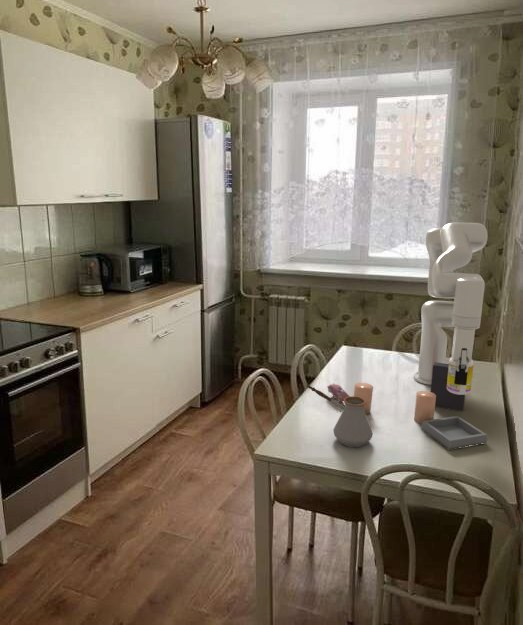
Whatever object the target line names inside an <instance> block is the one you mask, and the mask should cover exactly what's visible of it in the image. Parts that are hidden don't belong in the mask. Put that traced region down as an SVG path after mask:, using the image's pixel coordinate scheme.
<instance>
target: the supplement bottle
mask: <svg viewBox="0 0 523 625" xmlns="http://www.w3.org/2000/svg"><path fill="white" fill-rule="evenodd" d="M461 353H462V350H461ZM459 360H460V361H461V359H459ZM448 364H449V368H448V379H447V390H448V391H449V392H451V393H453V394H458V395H465V396H466V395H468V394H470V393H471V391H472V382H473V372H474V360H473V358H471V362H469V363H468V367H467V372H468V374H467V383H466V385H458V384H455V383H454V381H455V371H456V370H457V361H453V360H452V356H451V357H450V358H449V360H448ZM460 364H461V363H459V365H460Z"/></svg>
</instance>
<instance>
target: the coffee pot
mask: <svg viewBox="0 0 523 625" xmlns="http://www.w3.org/2000/svg"><path fill="white" fill-rule="evenodd" d="M307 389H309V390H311V391H312V392H314V393H316V394H317V395H318V396H319V397H321V398H323V399H325V400H326V401H329V402H331V403H333V404H334V405H336V407H338V408H340V409H341V410H343V411H342V412H341V414H340V416H339V418H338V420H337V422H336V423H335V425H334V427H333V429H332V430H333V434H334V437H335V438H336V440H337V441H338V442H340V443H341V444H342V445H344V446H347V447H348V448H349V447H350V448H359V447H363V446H365V445H366V444H367V443H369V442H370V441H371V440H372V438H373V434H374V433H373V429H372V427H371V424H370V422H369V419H368V417H367V415H366V414H365V411H364V409H363V407H364V405H365V404H366V401H365V400H364V399H363V398H361V397H358V396H354V395H353V396H351V395H350V397H346V398H344V401H343V402H344V404H345V406H344V405H342V404H341V403H340V402H337V401H335V400H334V399H332V398H331V397H329V396H328V395H327V394H325V393H324V392H322V391H320V390H318V389H317V388H315V387H314V386H313V387H312V386H311V385H309V384H306V386H305V388H304V391H306V390H307Z"/></svg>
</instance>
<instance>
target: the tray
mask: <svg viewBox="0 0 523 625" xmlns="http://www.w3.org/2000/svg"><path fill="white" fill-rule="evenodd" d="M421 430H422V432H424V433H425V432H426V434H427V435H428V436H429V435H430V436H429V437H430V438H432V439H433V438H434V439H433V440H435V441H436V442H437V441H438V442H437V443H439V444H440V443H441V444H442V445H441V444H440V445H441V446H442V447H444V448H445V447H446V448H445V449H446V450H448V451H452V450H451V449H454V450H456V449H455V448H459V447H465V446H469V445H476V444H481V443H486V444H487V440H488V434H487V433H485V432H484V431H482V430H481V429H479V428H477V427H476V426H474V425H473V424H472V423H469V422H468V420H465V419H463V418H462V417H461V416H459V415H455V416H449V417H441V418H434V420H427V421H423V424H421ZM465 448H466V447H465Z"/></svg>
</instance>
